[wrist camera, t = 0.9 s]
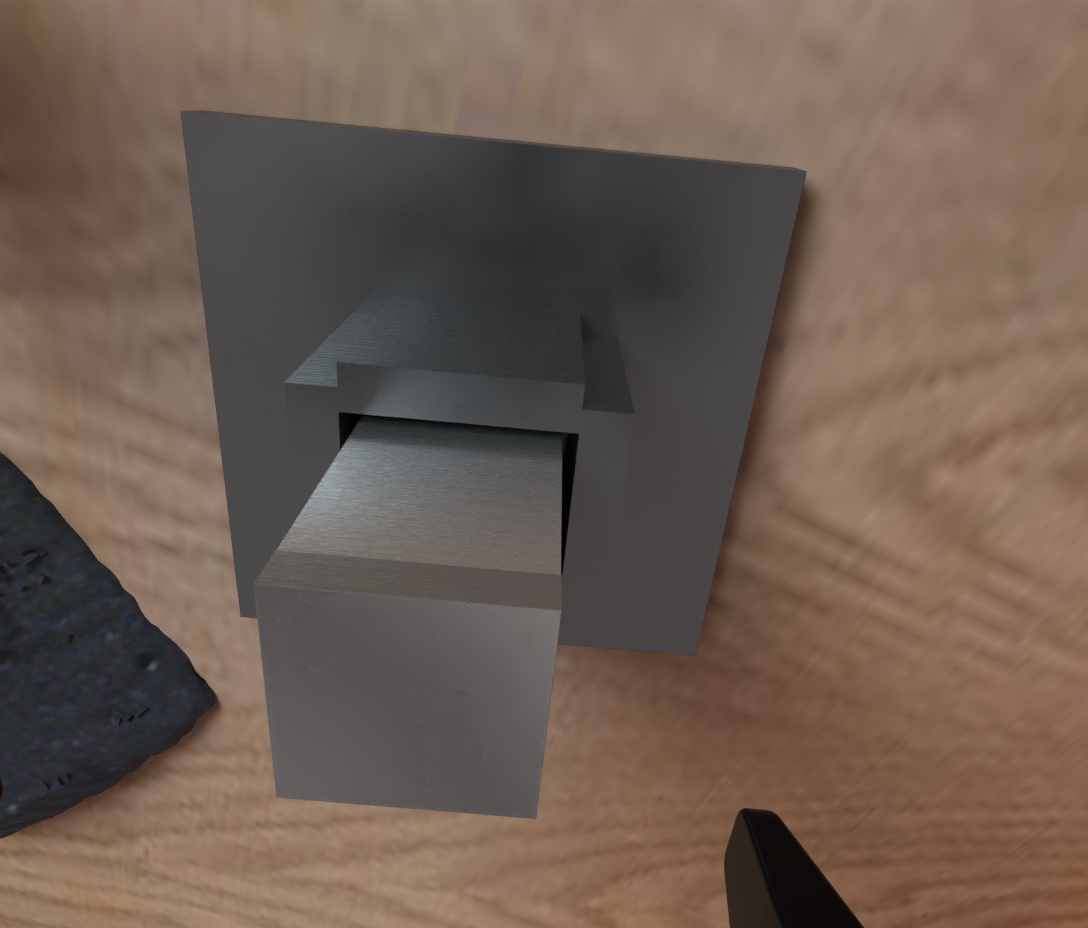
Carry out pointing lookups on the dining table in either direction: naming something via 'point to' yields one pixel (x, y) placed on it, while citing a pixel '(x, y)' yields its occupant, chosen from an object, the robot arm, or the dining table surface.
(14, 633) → the dark slate chunk
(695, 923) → the dining table surface
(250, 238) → the stand
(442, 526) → the column
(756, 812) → the robot arm
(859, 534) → the dining table surface
